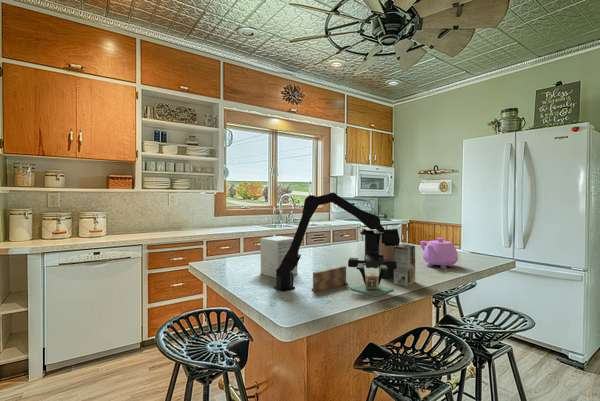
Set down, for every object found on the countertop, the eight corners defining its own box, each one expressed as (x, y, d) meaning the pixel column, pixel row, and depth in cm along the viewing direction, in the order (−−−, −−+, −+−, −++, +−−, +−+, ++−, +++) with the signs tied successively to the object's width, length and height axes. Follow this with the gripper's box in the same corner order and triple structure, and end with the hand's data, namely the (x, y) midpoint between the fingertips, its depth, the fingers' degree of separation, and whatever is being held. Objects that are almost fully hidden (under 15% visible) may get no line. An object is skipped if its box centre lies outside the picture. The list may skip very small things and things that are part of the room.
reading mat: (375, 296, 119) (375, 295, 119) (350, 289, 128) (350, 288, 128) (393, 290, 127) (393, 288, 127) (369, 284, 136) (369, 282, 136)
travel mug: (398, 278, 146) (399, 234, 145) (385, 279, 143) (385, 235, 143) (388, 274, 153) (388, 232, 152) (375, 275, 150) (375, 233, 150)
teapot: (408, 265, 171) (408, 237, 171) (427, 260, 184) (427, 234, 184) (444, 272, 156) (445, 241, 156) (462, 266, 169) (462, 238, 169)
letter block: (365, 288, 125) (365, 276, 125) (365, 285, 130) (365, 272, 130) (378, 289, 124) (378, 276, 124) (378, 285, 129) (378, 273, 129)
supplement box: (298, 273, 154) (298, 237, 154) (277, 278, 145) (277, 240, 145) (280, 269, 164) (280, 235, 164) (259, 273, 155) (259, 237, 154)
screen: (317, 293, 124) (317, 273, 124) (310, 290, 127) (310, 271, 127) (348, 284, 136) (348, 266, 135) (341, 282, 139) (341, 265, 138)
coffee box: (401, 279, 143) (401, 243, 143) (415, 282, 139) (415, 245, 139) (393, 284, 136) (393, 246, 136) (408, 286, 132) (408, 247, 132)
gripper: (347, 248, 121) (347, 289, 122) (398, 250, 117) (397, 292, 118) (348, 243, 132) (348, 281, 132) (395, 245, 128) (395, 283, 128)
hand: (371, 284), depth 127 cm, fingers closed on letter block, 5 cm apart
